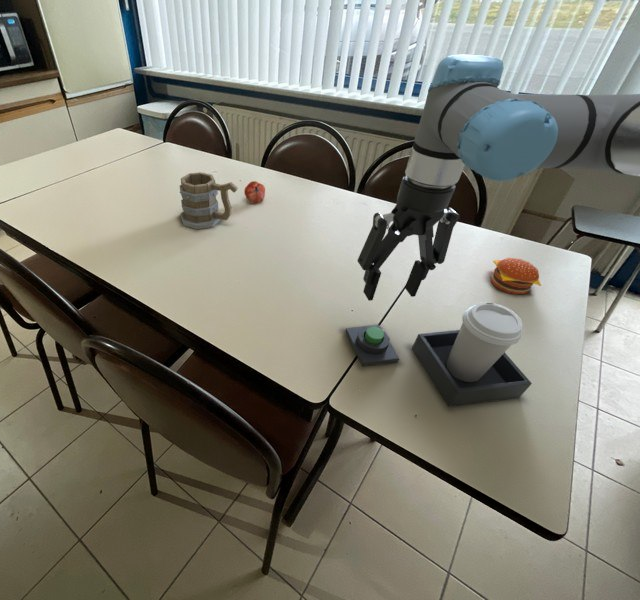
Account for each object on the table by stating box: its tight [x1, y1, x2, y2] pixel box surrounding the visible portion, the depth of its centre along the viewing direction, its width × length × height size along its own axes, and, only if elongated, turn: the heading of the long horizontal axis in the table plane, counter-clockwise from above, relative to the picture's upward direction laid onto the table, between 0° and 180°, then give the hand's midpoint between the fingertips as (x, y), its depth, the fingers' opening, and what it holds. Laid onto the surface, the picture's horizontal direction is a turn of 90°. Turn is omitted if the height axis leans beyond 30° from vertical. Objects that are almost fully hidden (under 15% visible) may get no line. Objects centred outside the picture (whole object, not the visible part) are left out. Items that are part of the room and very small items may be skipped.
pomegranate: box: [243, 180, 266, 204], centre depth 130 cm, size 7×7×10 cm
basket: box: [411, 329, 533, 407], centre depth 73 cm, size 15×15×5 cm
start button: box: [365, 327, 384, 345], centre depth 78 cm, size 4×4×2 cm
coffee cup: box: [446, 301, 524, 382], centre depth 70 cm, size 10×10×15 cm
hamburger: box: [489, 257, 542, 295], centre depth 94 cm, size 9×10×7 cm
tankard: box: [179, 171, 239, 230], centre depth 116 cm, size 20×13×15 cm, turn 60°
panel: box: [344, 324, 400, 367], centre depth 79 cm, size 10×8×3 cm
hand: (388, 293), depth 70 cm, fingers open, 8 cm apart
